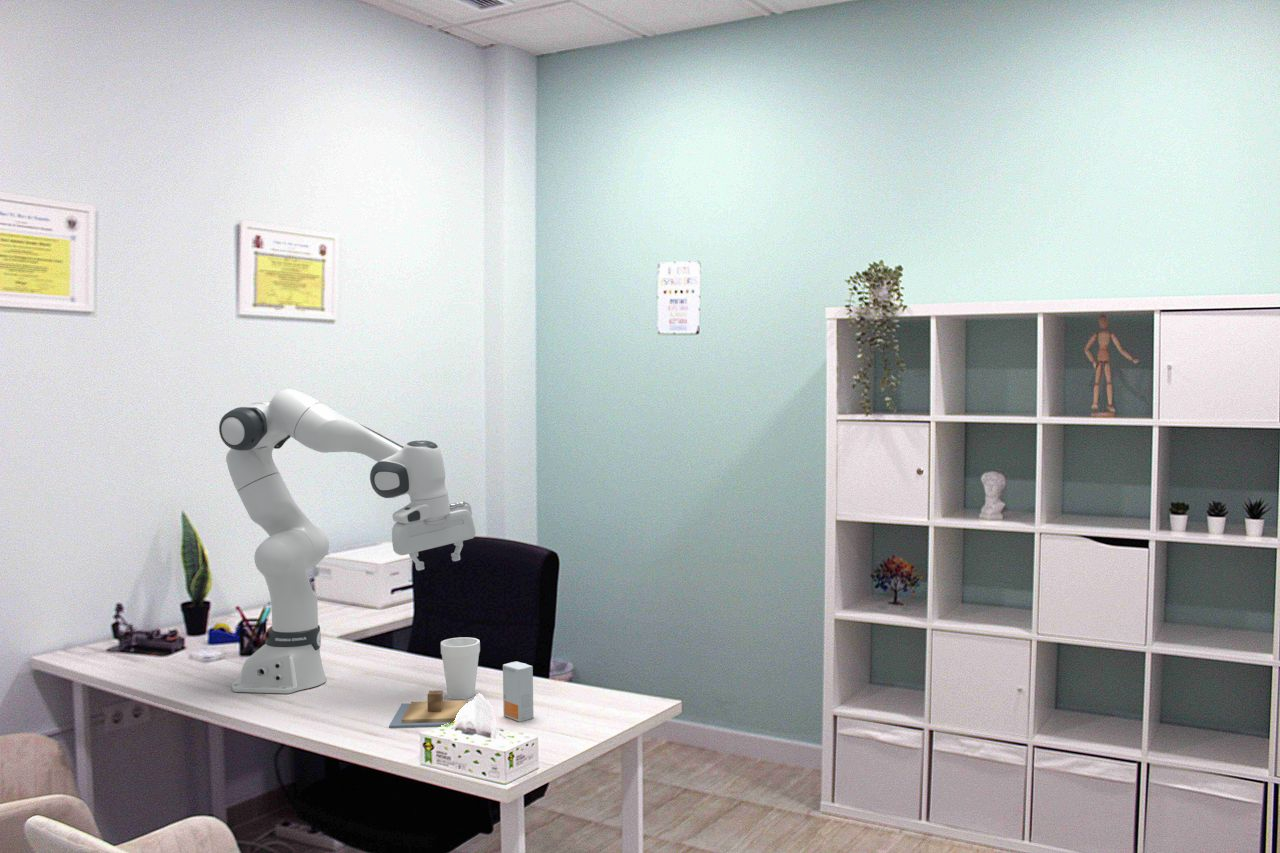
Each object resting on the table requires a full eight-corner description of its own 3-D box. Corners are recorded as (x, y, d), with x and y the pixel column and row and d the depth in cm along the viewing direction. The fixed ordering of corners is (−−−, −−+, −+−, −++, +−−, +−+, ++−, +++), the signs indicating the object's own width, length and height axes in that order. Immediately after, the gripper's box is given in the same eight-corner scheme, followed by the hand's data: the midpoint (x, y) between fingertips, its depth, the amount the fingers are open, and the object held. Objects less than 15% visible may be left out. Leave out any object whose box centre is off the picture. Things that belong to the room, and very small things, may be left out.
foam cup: (433, 698, 257) (432, 644, 256) (457, 687, 265) (456, 635, 265) (465, 703, 253) (464, 648, 252) (488, 692, 261) (487, 639, 260)
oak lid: (401, 723, 237) (401, 701, 237) (411, 705, 250) (411, 684, 250) (460, 721, 238) (460, 700, 237) (467, 703, 251) (467, 683, 250)
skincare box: (502, 716, 242) (501, 664, 242) (517, 712, 245) (516, 660, 245) (519, 722, 238) (518, 669, 237) (534, 718, 241) (533, 665, 240)
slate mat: (388, 727, 235) (388, 725, 235) (401, 705, 251) (401, 703, 251) (471, 725, 236) (471, 723, 236) (479, 703, 252) (479, 701, 252)
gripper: (463, 498, 263) (471, 553, 265) (385, 515, 252) (393, 573, 253) (475, 500, 258) (483, 556, 260) (396, 518, 246) (404, 576, 248)
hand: (438, 565), depth 256 cm, fingers open, 8 cm apart
